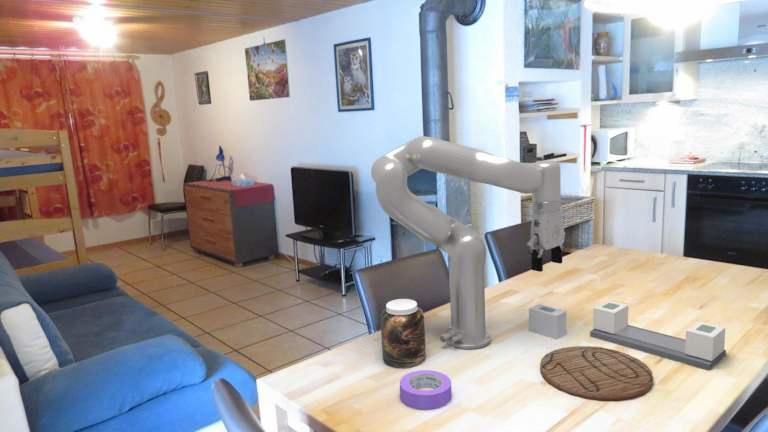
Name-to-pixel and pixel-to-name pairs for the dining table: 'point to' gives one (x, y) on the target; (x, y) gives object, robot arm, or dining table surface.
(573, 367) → the trivet
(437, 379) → the masking tape
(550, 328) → the module block
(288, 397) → the dining table surface
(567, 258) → the dining table surface
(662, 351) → the rail panel
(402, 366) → the jar
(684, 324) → the dining table surface
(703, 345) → the mounted modules
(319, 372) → the dining table surface
